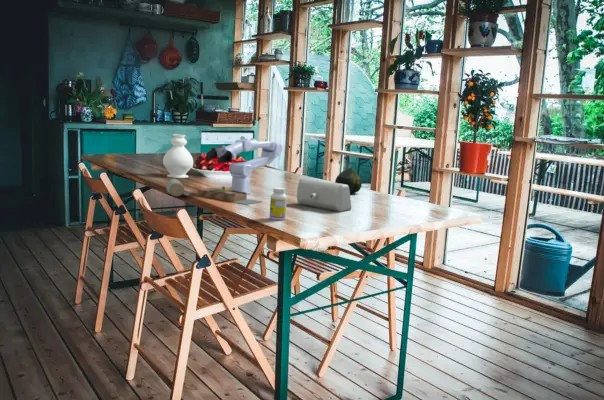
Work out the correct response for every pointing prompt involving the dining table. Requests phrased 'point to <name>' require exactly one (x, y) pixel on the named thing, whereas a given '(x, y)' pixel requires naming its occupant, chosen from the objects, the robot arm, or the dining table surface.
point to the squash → (350, 180)
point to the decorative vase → (178, 158)
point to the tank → (323, 195)
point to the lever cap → (222, 189)
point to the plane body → (223, 195)
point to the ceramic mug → (176, 188)
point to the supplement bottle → (278, 204)
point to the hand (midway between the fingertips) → (212, 159)
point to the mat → (247, 201)
